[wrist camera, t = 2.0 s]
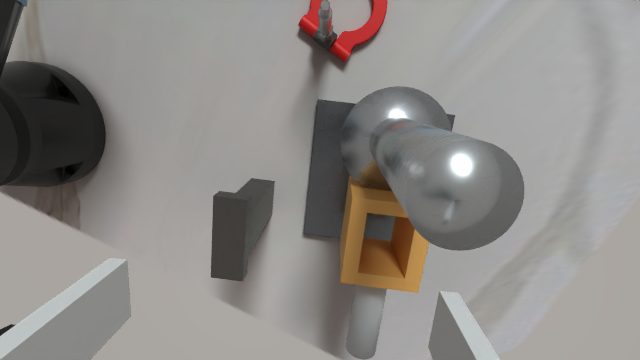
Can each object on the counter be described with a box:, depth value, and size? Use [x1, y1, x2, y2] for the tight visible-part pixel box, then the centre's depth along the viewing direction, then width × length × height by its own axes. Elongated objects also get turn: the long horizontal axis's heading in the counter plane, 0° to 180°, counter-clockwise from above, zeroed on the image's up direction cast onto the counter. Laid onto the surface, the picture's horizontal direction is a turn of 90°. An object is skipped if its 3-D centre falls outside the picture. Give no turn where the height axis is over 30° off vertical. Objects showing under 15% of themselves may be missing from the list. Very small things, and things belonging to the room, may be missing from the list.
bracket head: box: [340, 175, 429, 359], centre depth 33 cm, size 7×18×8 cm, turn 174°
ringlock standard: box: [304, 86, 524, 250], centre depth 28 cm, size 16×19×27 cm
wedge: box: [211, 178, 275, 281], centre depth 36 cm, size 3×8×14 cm, turn 174°
